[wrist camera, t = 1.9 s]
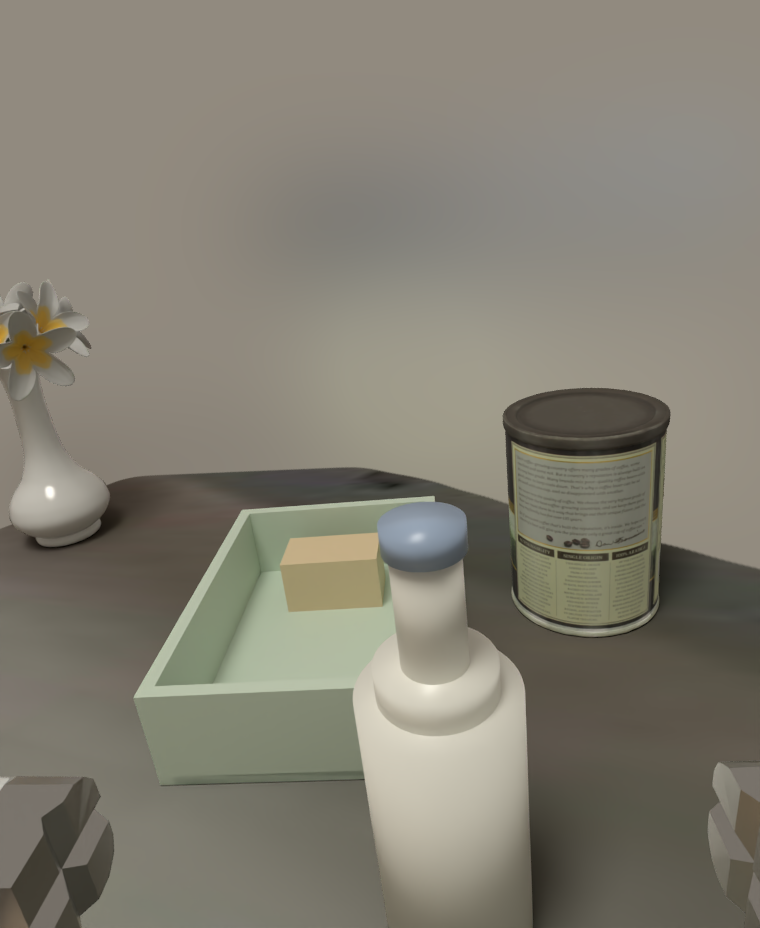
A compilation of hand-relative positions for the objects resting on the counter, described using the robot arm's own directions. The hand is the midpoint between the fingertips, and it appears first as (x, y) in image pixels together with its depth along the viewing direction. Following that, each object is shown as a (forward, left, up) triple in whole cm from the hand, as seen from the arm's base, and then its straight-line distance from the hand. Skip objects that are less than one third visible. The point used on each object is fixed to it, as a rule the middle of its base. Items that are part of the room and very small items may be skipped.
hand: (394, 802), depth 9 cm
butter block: (+8, -36, -20) cm, 42 cm away
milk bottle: (0, -12, -21) cm, 24 cm away
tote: (+8, -30, -21) cm, 37 cm away
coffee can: (-10, -35, -21) cm, 42 cm away
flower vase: (+37, -51, -21) cm, 66 cm away
